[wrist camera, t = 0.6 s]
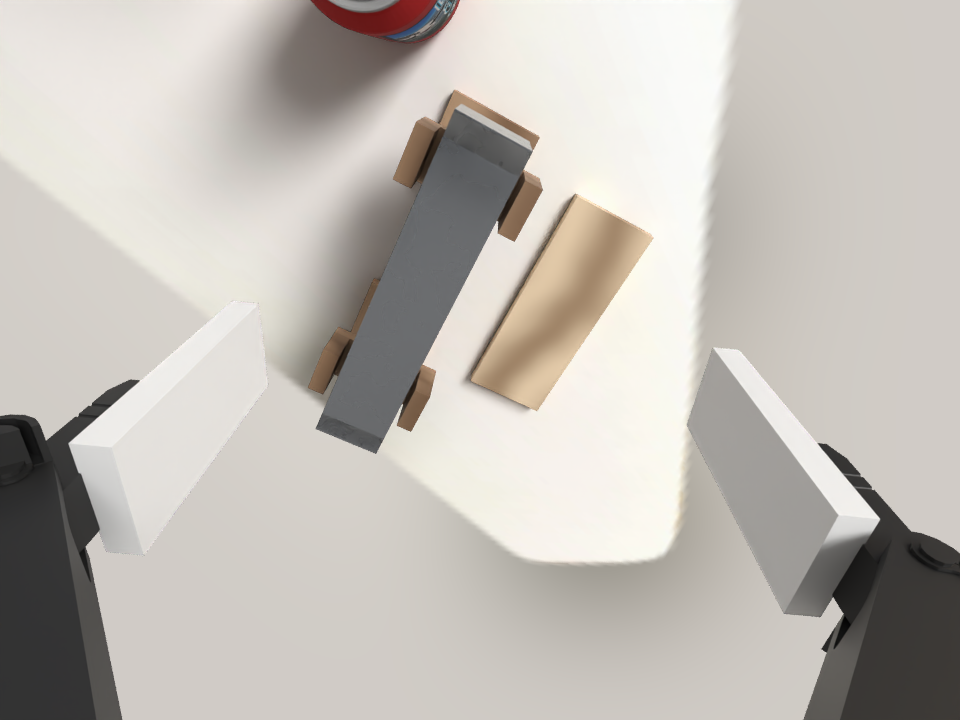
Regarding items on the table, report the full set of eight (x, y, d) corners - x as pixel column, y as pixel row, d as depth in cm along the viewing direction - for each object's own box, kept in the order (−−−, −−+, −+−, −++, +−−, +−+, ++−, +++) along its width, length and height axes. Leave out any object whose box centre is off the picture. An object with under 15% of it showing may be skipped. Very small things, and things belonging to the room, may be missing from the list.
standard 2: (410, 174, 36) (381, 206, 28) (448, 85, 34) (428, 90, 25) (502, 222, 38) (501, 265, 29) (545, 140, 35) (558, 162, 27)
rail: (333, 394, 37) (315, 428, 33) (461, 103, 28) (454, 108, 24) (388, 417, 37) (375, 453, 34) (529, 141, 28) (532, 151, 25)
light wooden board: (471, 374, 43) (470, 380, 43) (575, 193, 36) (577, 196, 36) (536, 404, 45) (536, 411, 44) (650, 233, 37) (653, 237, 37)
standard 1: (341, 339, 42) (300, 405, 34) (368, 275, 40) (331, 329, 31) (421, 376, 44) (402, 448, 35) (453, 315, 41) (440, 378, 33)
